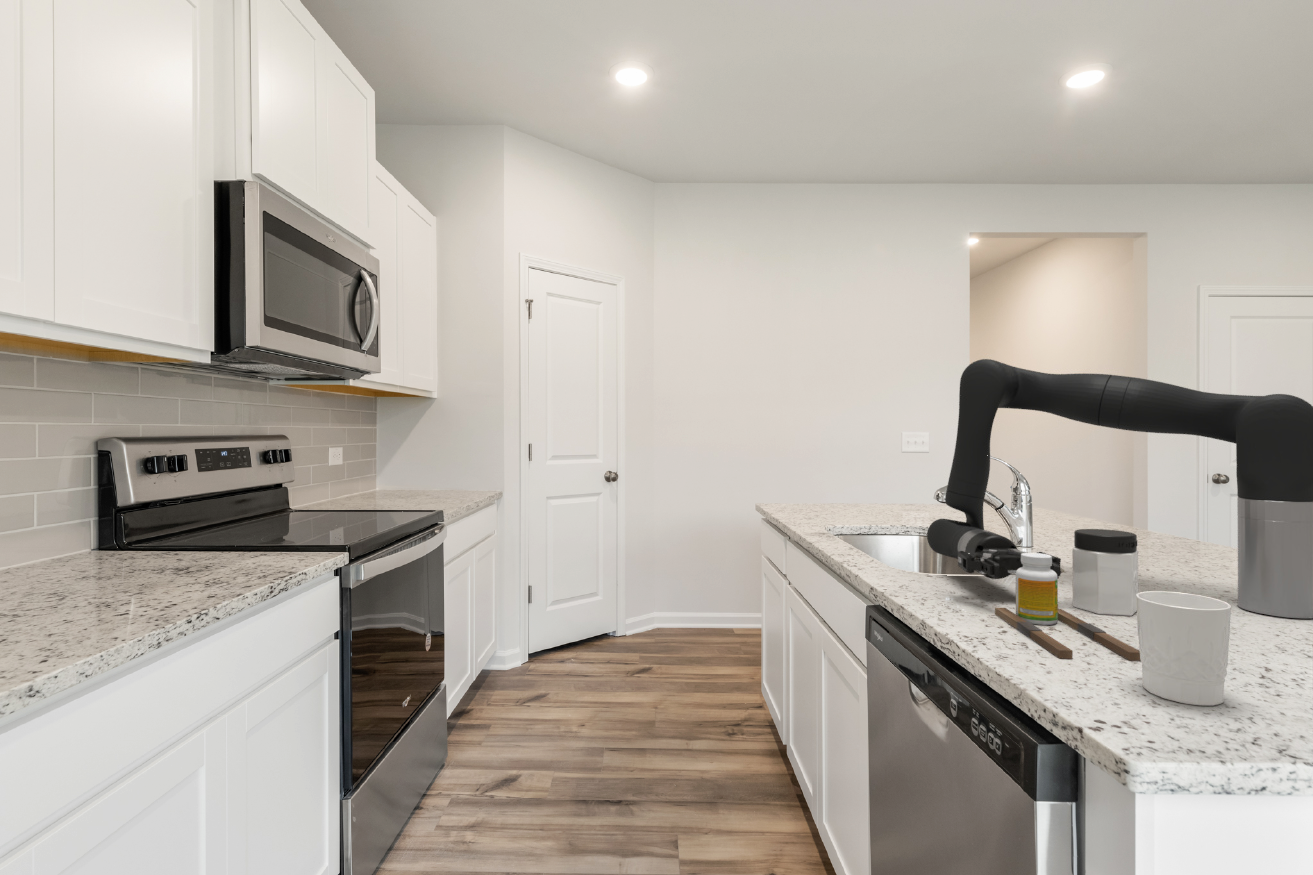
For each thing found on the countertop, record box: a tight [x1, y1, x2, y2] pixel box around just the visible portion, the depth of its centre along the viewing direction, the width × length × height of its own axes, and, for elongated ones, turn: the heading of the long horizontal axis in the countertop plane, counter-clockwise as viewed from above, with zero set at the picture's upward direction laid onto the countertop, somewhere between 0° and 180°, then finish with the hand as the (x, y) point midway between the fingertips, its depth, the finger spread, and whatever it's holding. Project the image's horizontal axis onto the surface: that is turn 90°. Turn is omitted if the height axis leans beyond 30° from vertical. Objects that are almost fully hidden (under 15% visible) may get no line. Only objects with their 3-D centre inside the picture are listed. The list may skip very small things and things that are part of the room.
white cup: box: [1136, 590, 1232, 707], centre depth 70 cm, size 8×8×10 cm
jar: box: [1071, 528, 1139, 617], centre depth 103 cm, size 9×8×12 cm
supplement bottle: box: [1015, 552, 1059, 626], centre depth 97 cm, size 5×5×10 cm
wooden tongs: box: [994, 607, 1141, 662], centre depth 90 cm, size 10×20×1 cm, turn 173°
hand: (1026, 571), depth 100 cm, fingers open, 8 cm apart
